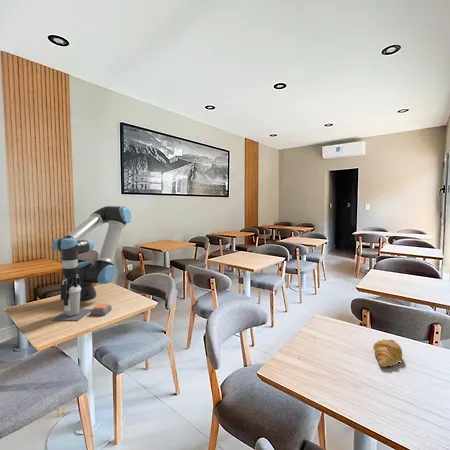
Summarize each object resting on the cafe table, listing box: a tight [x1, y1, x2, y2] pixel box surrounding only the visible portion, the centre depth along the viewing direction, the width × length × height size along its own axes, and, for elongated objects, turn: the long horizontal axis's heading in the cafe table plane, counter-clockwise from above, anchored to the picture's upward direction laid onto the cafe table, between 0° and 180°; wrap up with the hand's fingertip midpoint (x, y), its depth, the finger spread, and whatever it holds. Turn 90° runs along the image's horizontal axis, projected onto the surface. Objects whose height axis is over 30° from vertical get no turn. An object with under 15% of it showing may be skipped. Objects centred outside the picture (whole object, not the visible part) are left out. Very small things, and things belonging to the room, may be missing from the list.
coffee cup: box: [64, 285, 81, 316], centre depth 145 cm, size 10×10×15 cm
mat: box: [51, 308, 93, 322], centre depth 145 cm, size 14×14×1 cm
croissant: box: [372, 339, 403, 368], centre depth 108 cm, size 21×10×8 cm, turn 140°
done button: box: [93, 303, 109, 310], centre depth 149 cm, size 6×6×2 cm
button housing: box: [89, 304, 113, 317], centre depth 149 cm, size 8×8×3 cm
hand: (72, 307), depth 145 cm, fingers closed on coffee cup, 8 cm apart
